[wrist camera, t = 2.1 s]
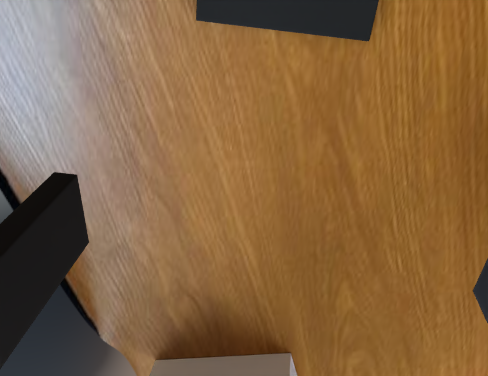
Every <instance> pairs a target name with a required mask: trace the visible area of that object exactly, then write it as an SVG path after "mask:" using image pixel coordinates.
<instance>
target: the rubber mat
mask: <svg viewBox="0 0 488 376" xmlns="http://www.w3.org/2000/svg"><path fill="white" fill-rule="evenodd" d="M378 1H379V0H197V11H196V20H197V21H205V22H213V23H221V24H230V25H238V26H246V27H255V28H263V29H271V30H279V31H288V32H296V33H304V34H312V35H321V36H329V37H337V38H345V39H354V40H362V41H369V39H370V35H371V31H372V27H373V22H374V18H375V14H376V10H377V6H378Z"/></svg>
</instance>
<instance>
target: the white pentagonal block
mask: <svg viewBox="0 0 488 376" xmlns="http://www.w3.org/2000/svg"><path fill="white" fill-rule="evenodd" d="M150 376H297V373H296V370H295V366H294V363H293V359H292V356H291V353H281V354H263V355H244V356H225V357H207V358H188V359H169V360H155V362H154V365H153V368H152V370H151V373H150Z"/></svg>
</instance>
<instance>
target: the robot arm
mask: <svg viewBox="0 0 488 376" xmlns="http://www.w3.org/2000/svg"><path fill="white" fill-rule="evenodd" d="M88 243H89V240H88V234H87V229H86V223H85V217H84V211H83V206H82V200H81V194H80V189H79V183H78V177H77V175H74V174H66V173H57V172H54V173H53V174H52V175H51V176H50V177H49V178H48V179H47V180H46V181H45V182H43V183H42V184H41V185H40V186H39V187H38V188H37V189H36V190H35V191H34V192H33V193H32V194H31V195H30V196H29V197H28V198H27V199H26V200H25V201H24V202H23V203H22V204H21V205H19V206H18V207H17V208H16V209H15V210H14V211H13V212H12V213H11V214H10V215H9V216H8V217H7V218H6V219H5V220H4V221H3V222H2V223H1V224H0V369H1V367H2V366H3V364H4V363H5V362H6V360H7V359H8V357H9V356H10V354H11V353H12V352H13V350H14V349H15V347H16V346H17V344H18V343H19V342H20V340H21V338H22V337H23V336H24V334H25V333H26V331H27V330H28V329H29V327H30V325H31V324H32V323H33V321H34V320H35V319H36V317H37V316H38V314H39V313H40V312H41V310H42V309H43V307H44V306H45V304H46V303H47V302H48V300H49V299H50V297H51V296H52V294H53V293H54V292H55V290H56V289H57V287H58V286H59V284H60V283H61V282H62V280H63V279H64V277H65V276H66V274H67V273H68V272H69V270H70V269H71V267H72V266H73V264H74V263H75V262H76V260H77V259H78V257H79V256H80V254H81V253H82V252H83V250H84V249H85V247H86V246H87V244H88ZM473 292H474V295H475V297H476V299H477V301H478V303H479V306H480V308H481V310H482V312H483V314H484V317H485V319H486V321H487V323H488V259H487V261H486V263H485V265H484V268H483V270H482V272H481V274H480V276H479V278H478V281H477V283H476V285H475V287H474V289H473Z"/></svg>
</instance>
